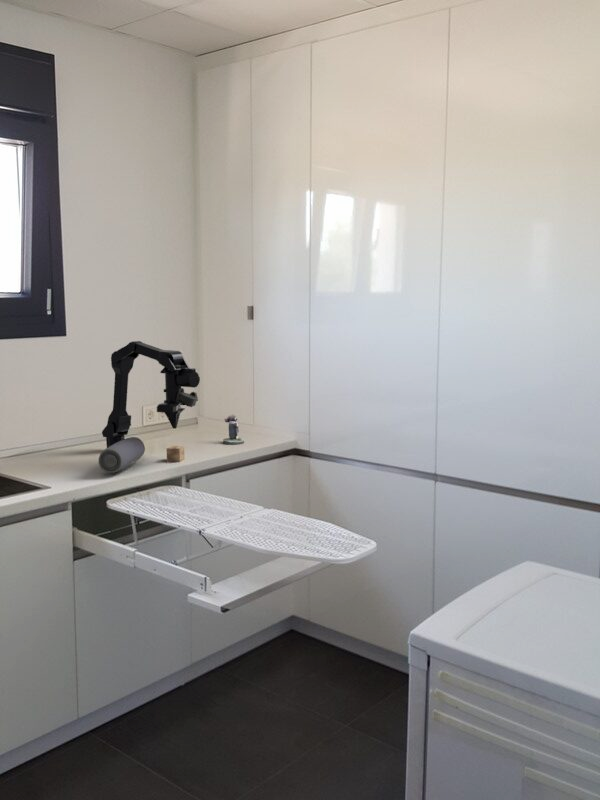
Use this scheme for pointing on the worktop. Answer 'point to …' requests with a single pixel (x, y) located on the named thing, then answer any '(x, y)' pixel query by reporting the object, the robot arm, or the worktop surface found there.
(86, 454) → the worktop surface
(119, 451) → the bluetooth speaker
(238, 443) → the figurine
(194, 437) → the worktop surface
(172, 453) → the letter block
